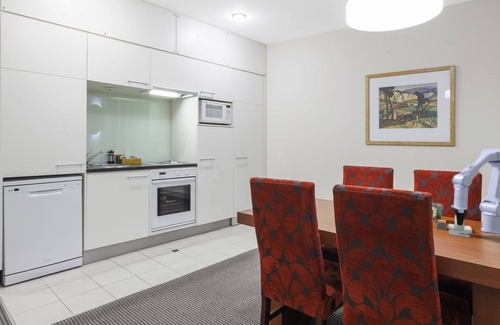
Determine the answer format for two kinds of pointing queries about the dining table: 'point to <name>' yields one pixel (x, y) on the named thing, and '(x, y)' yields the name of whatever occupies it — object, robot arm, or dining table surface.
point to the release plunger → (442, 221)
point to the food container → (437, 211)
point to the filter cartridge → (458, 226)
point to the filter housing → (452, 226)
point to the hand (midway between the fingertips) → (459, 224)
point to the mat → (459, 233)
